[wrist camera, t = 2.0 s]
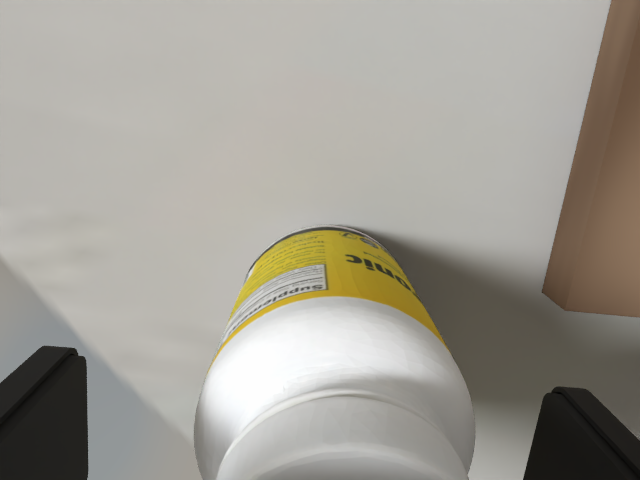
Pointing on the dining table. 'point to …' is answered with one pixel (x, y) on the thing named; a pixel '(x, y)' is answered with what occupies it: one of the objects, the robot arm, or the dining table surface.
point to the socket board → (604, 184)
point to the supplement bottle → (332, 372)
